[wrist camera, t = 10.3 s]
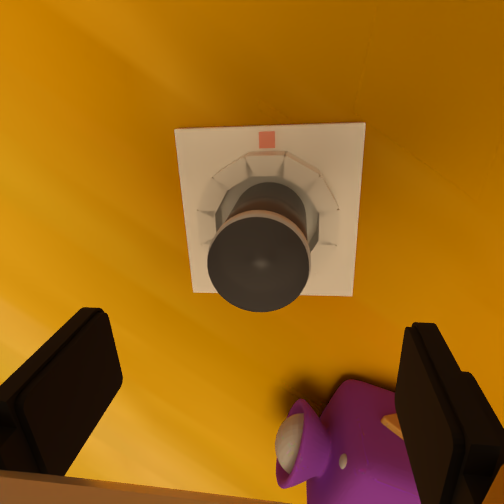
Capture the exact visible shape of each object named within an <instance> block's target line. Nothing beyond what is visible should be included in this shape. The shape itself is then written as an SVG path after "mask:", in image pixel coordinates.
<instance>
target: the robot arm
mask: <svg viewBox="0 0 504 504" xmlns="http://www.w3.org/2000/svg"><path fill="white" fill-rule="evenodd" d="M122 380H123V376H122V371H121V367H120V363H119V359H118V354H117V350H116V346H115V342H114V338H113V333H112V329H111V325H110V321H109V317H108V314H107V313H104V311H103V310H102V309H101V308H89V307H84V308H81V309H80V310H79V311H78V312H77V313H76V314H75V315H74V316H73V317H72V318H71V319H69V320H68V321H67V322H66V323H65V324H64V325H63V326H62V327H61V328H60V329H59V330H58V331H57V332H56V333H55V334H54V335H53V336H52V337H51V338H50V339H49V340H48V341H46V342H45V343H44V344H43V345H42V346H41V347H40V348H39V349H38V350H37V351H36V352H35V353H34V354H33V355H32V356H31V357H30V358H29V359H28V360H27V361H26V362H25V363H23V364H22V365H21V366H20V367H19V368H18V369H17V370H16V371H15V372H14V373H13V374H12V375H11V376H10V377H9V378H8V379H7V380H6V381H5V382H4V383H3V384H2V385H0V504H290V503H282V502H274V501H266V500H258V499H250V498H242V497H234V496H226V495H218V494H210V493H202V492H193V491H185V490H177V489H169V488H160V487H152V486H144V485H135V484H127V483H118V482H110V481H101V480H92V479H83V478H75V477H66V476H64V475H65V474H66V472H67V471H68V469H69V467H70V466H71V464H72V463H73V461H74V460H75V458H76V456H77V455H78V453H79V452H80V450H81V449H82V447H83V445H84V444H85V442H86V441H87V439H88V438H89V436H90V434H91V433H92V431H93V430H94V428H95V427H96V425H97V423H98V422H99V420H100V419H101V417H102V416H103V414H104V412H105V411H106V409H107V408H108V406H109V405H110V403H111V401H112V400H113V398H114V397H115V395H116V394H117V392H118V390H119V389H120V387H121V385H122ZM395 409H396V413H397V417H398V420H399V424H400V428H401V431H402V435H403V439H404V443H405V446H406V450H407V454H408V457H409V461H410V465H411V468H412V472H413V476H414V480H415V483H416V487H417V491H418V494H419V498H420V502H421V504H504V428H503V427H502V425H501V423H500V421H499V420H498V418H497V416H496V415H495V413H494V411H493V409H492V408H491V406H490V404H489V402H488V401H487V399H486V397H485V395H484V394H483V392H482V390H481V388H480V387H479V385H478V383H477V381H476V380H475V378H474V377H473V375H472V374H471V373H469V372H463V371H461V370H460V368H459V366H458V364H457V362H456V360H455V359H454V357H453V355H452V353H451V351H450V349H449V348H448V346H447V344H446V342H445V340H444V338H443V336H442V335H441V333H440V331H439V329H438V327H437V326H436V324H434V323H418V322H414V323H413V324H412V327H406V328H405V332H404V338H403V345H402V352H401V358H400V365H399V371H398V378H397V384H396V391H395Z"/></svg>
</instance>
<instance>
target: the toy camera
mask: <svg viewBox="0 0 504 504" xmlns="http://www.w3.org/2000/svg"><path fill="white" fill-rule="evenodd" d="M275 450H276V455H277V462H276V477H277V482H278V485H279V486H280V487H281V488H289V487H292V486H295V485H297V484H300V483H302V482H304V481H306V480H307V504H421V502H420V498H419V494H418V491H417V487H416V483H415V480H414V476H413V472H412V468H411V465H410V461H409V457H408V454H407V450H406V446H405V443H404V439H403V435H402V431H401V428H400V424H399V420H398V417H397V413H396V409H395V393H394V392H392V391H389V390H386V389H383V388H380V387H377V386H374V385H371V384H369V383H365V382H362V381H358V380H353V379H350V380H346V381H344V382H343V383H342V384H341V385H340V386H339V388H338V389H337V390H336V392H335V393H334V395H333V396H332V398H331V400H330V401H329V403H328V405H327V406H326V408H325V409H324V411H323V413H322V415H321V416H320V418H319V417H318V416H317V414H316V413H315V412H314V410H313V409H312V408H311V406H310V405H309V404H308V403H307V402H306V401H305V400H304V399H298V400H297V401H296V402H295V403H294V405H293V406H292V408H291V410H290V412H289V414H288V416H287V419H286V420H285V421H284V422H283V423H282V425H281V426H280V428H279V430H278V433H277V436H276V442H275Z"/></svg>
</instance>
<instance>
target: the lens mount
mask: <svg viewBox="0 0 504 504" xmlns="http://www.w3.org/2000/svg"><path fill="white" fill-rule="evenodd" d="M365 126H366V123H364V122H347V123H317V124H288V125H259V126H230V127H200V128H178V129H174V132H175V141H176V149H177V158H178V166H179V175H180V183H181V192H182V200H183V209H184V217H185V226H186V234H187V243H188V251H189V260H190V268H191V277H192V285H193V292H198V293H218V292H217V290H216V289H215V287H214V286H213V284H212V282H211V280H210V277H209V274H208V268H207V255H208V249H209V246H210V243H211V241H212V239H213V238H214V236H215V234H216V233H217V231H218V229H219V228H220V227H221V226H222V225H223V224H224V223H225V221H226V219H227V218H228V216H229V214H230V213H231V211H232V209H233V208H234V206H235V204H236V202H237V201H238V199H239V197H240V196H241V195H242V194H243V193H244V192H245V191H246V190H247V189H248V188H250V187H252V186H254V185H256V184H259V183H263V182H275V183H280V184H283V185H285V186H287V187H289V188H290V189H292V190H293V191H294V192H295V193H296V194H297V195H298V196H299V197H300V199H301V200H302V202H303V204H304V207H305V211H306V223H307V240H308V245H309V249H310V256H311V271H310V276H309V279H308V281H307V284H306V285H305V287H304V289H303V291H302V292H301V293H300V295H323V296H352V294H353V281H354V268H355V255H356V242H357V230H358V217H359V204H360V191H361V178H362V165H363V152H364V139H365Z"/></svg>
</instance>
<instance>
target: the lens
mask: <svg viewBox="0 0 504 504" xmlns="http://www.w3.org/2000/svg"><path fill="white" fill-rule="evenodd" d="M207 268H208V274H209V277H210V280H211V282H212V284H213V286H214V287H215V289H216V290H217V292H218V293H219V294H220V295H221V296H222V297H223V298H224V299H225V300H226V301H228V302H229V303H231V304H232V305H234V306H236V307H238V308H241V309H244V310H247V311H252V312H269V311H274V310H278V309H280V308H283V307H285V306H286V305H288V304H290V303H291V302H293V301H294V300H295V299H296V298H297V297H298V296H299V295H300V293H301V292H302V291H303V289H304V287H305V285H306V284H307V281H308V279H309V276H310V271H311V256H310V249H309V245H308V240H307V223H306V211H305V207H304V204H303V202H302V200H301V199H300V197H299V196H298V195H297V194H296V193H295V192H294V191H293V190H292V189H290V188H289V187H287V186H285V185H283V184H280V183H275V182H263V183H259V184H256V185H254V186H252V187H250V188H248V189H247V190H246V191H245V192H244V193H243V194H242V195H241V196H240V197H239V199H238V201H237V202H236V204H235V206H234V208H233V209H232V211H231V213H230V214H229V216H228V218H227V219H226V221H225V223H224V224H223V225H222V226H221V227H220V228H219V229H218V231H217V233H216V234H215V236H214V238H213V239H212V241H211V243H210V246H209V249H208V255H207Z"/></svg>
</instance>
